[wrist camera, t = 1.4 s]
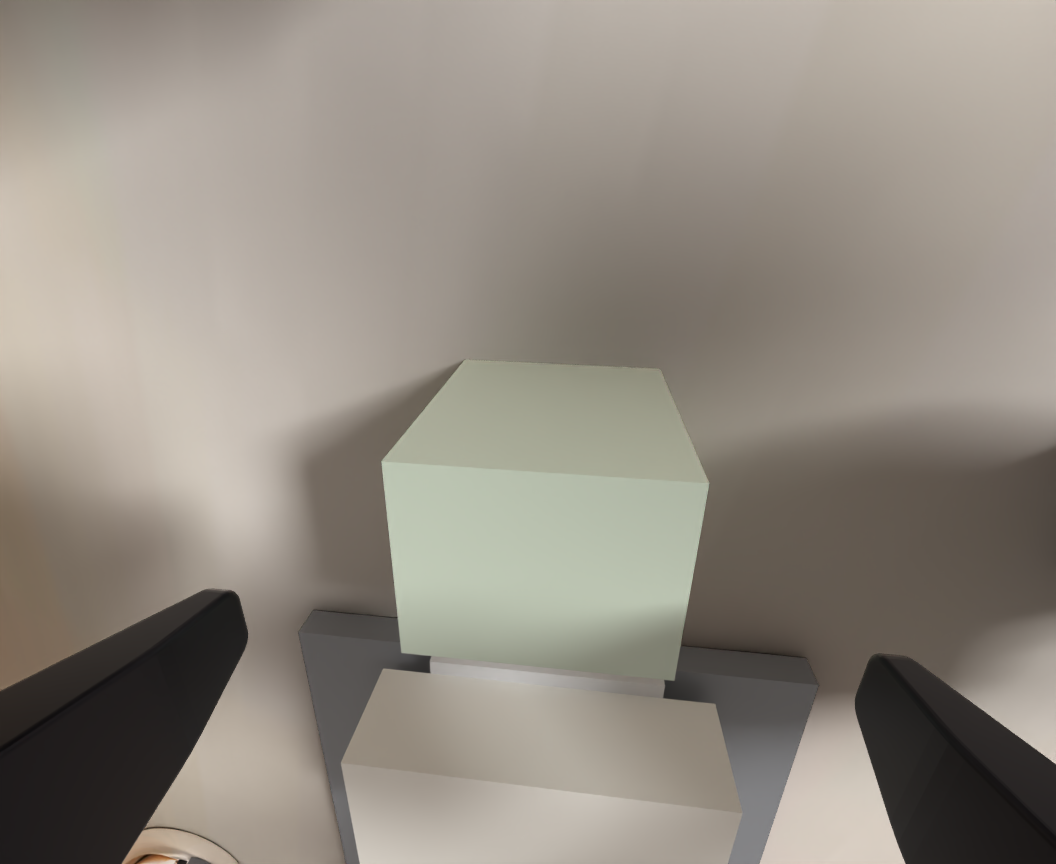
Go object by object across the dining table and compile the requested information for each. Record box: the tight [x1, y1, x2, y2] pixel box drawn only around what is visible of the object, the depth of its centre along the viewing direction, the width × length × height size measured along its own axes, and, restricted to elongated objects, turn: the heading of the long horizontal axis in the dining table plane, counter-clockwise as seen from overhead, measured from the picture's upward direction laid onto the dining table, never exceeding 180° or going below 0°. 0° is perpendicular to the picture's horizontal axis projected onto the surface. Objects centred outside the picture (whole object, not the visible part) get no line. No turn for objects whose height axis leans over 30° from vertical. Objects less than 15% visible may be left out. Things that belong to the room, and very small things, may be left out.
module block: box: [381, 359, 709, 681], centre depth 11 cm, size 5×4×6 cm
